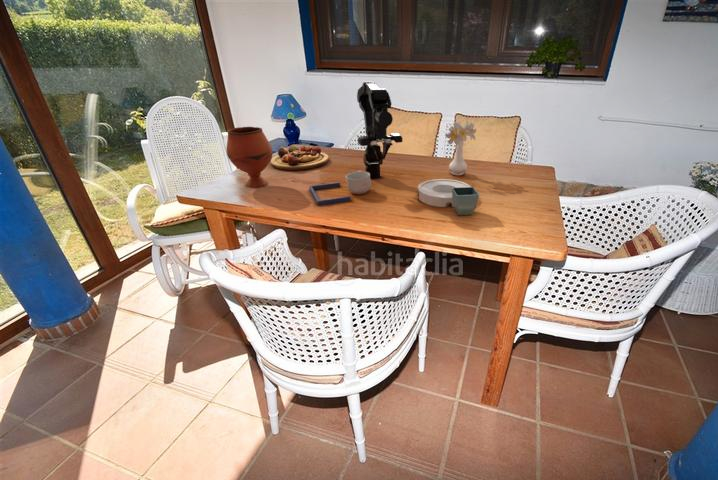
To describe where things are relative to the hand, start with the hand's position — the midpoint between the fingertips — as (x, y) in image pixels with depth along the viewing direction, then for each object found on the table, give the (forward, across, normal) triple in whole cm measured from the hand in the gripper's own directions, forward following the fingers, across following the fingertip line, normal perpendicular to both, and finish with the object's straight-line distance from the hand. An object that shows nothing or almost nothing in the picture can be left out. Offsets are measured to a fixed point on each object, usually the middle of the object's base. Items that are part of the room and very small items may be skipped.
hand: (380, 159), depth 158 cm
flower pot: (+13, -20, +39) cm, 46 cm away
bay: (+13, +24, 0) cm, 27 cm away
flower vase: (+13, -42, -4) cm, 45 cm away
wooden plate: (+13, +29, -56) cm, 64 cm away
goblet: (+13, +54, -27) cm, 61 cm away
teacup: (+13, +10, 0) cm, 17 cm away
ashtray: (+13, -22, +21) cm, 33 cm away
